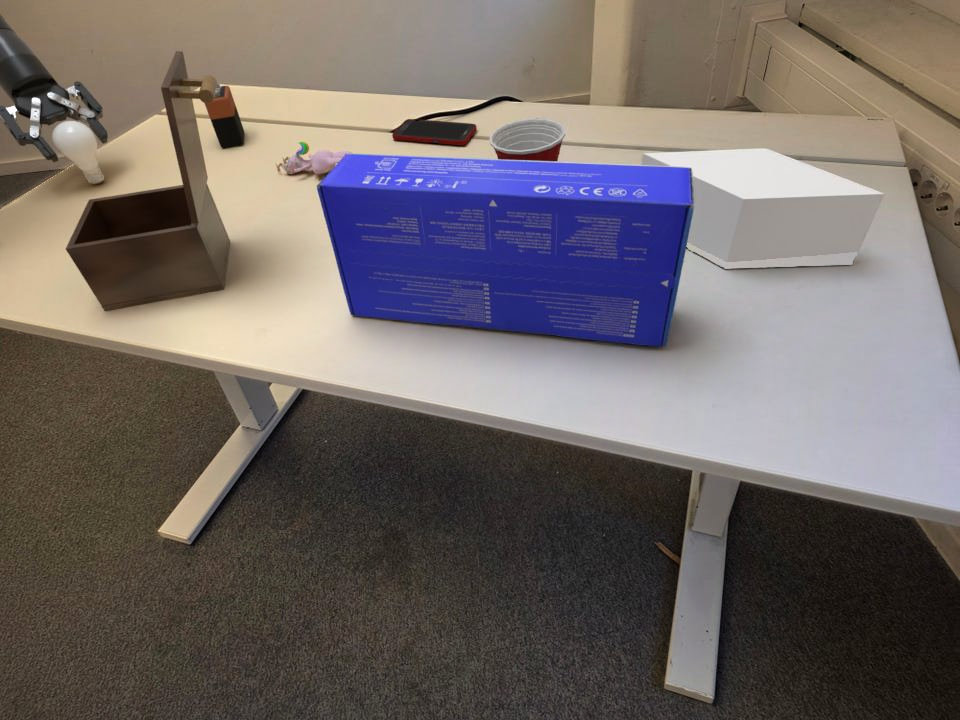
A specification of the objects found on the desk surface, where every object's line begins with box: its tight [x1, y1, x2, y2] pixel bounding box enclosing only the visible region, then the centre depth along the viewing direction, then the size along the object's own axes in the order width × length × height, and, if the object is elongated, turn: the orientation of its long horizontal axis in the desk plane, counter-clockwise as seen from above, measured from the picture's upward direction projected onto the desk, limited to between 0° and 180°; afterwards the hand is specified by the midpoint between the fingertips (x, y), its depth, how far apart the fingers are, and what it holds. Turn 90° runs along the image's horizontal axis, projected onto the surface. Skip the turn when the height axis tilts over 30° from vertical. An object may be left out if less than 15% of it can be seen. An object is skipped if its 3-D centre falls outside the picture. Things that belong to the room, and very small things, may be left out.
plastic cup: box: [489, 118, 567, 162], centre depth 89 cm, size 11×11×12 cm
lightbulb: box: [51, 120, 105, 185], centre depth 104 cm, size 6×6×11 cm
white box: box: [640, 147, 885, 262], centre depth 80 cm, size 14×29×10 cm, turn 62°
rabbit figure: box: [275, 141, 354, 175], centre depth 104 cm, size 6×6×15 cm
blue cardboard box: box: [316, 153, 694, 347], centre depth 69 cm, size 39×8×18 cm, turn 77°
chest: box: [65, 183, 231, 312], centre depth 83 cm, size 16×13×10 cm
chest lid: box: [160, 50, 218, 224], centre depth 75 cm, size 16×13×5 cm
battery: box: [204, 83, 245, 149], centre depth 114 cm, size 4×7×10 cm, turn 15°
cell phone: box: [391, 118, 477, 146], centre depth 114 cm, size 8×15×1 cm, turn 72°
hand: (81, 149), depth 103 cm, fingers open, 8 cm apart
